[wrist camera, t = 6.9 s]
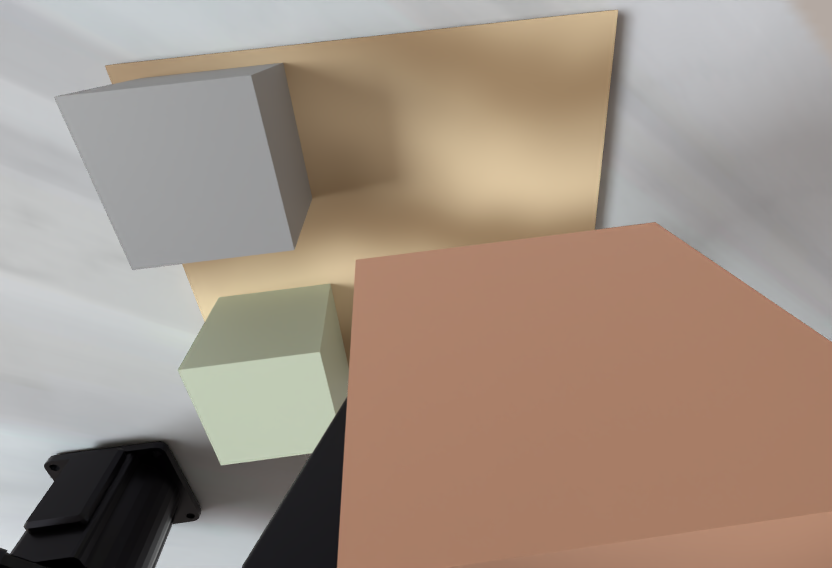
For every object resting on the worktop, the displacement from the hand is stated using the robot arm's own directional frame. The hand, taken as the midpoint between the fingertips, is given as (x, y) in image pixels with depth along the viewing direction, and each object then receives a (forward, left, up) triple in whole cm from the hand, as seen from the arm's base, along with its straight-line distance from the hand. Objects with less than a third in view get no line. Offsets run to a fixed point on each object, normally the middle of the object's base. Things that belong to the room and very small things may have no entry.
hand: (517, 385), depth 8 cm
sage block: (-6, +7, -12) cm, 16 cm away
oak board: (-2, +2, -13) cm, 13 cm away
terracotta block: (0, 0, -1) cm, 1 cm away
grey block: (+3, +7, -12) cm, 15 cm away
